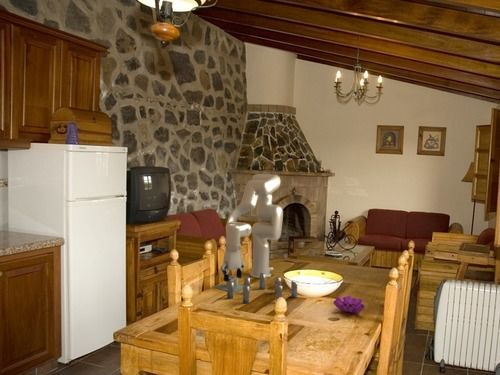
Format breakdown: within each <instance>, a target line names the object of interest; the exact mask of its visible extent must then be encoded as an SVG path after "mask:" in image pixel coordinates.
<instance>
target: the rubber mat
mask: <svg viewBox="0 0 500 375" xmlns="http://www.w3.org/2000/svg"><path fill="white" fill-rule="evenodd" d="M243 286H244V284H240V283H238V287H237V288H233V294H234V293H238V292H241V291H243ZM213 288H214V289H218V290H221V291H225V292H227V287H226V283H223V284H219V285H214V286H213ZM250 289H251V286H250Z"/></svg>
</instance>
